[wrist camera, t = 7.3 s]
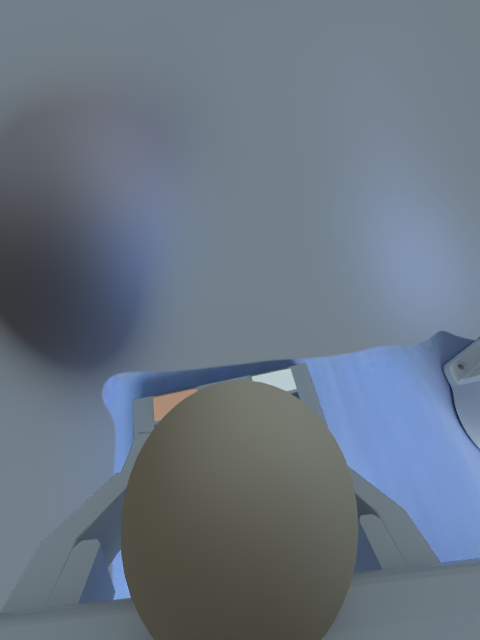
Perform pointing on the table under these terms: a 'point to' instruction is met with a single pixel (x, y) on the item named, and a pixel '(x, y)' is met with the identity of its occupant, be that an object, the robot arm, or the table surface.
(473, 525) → the table surface
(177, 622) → the peg
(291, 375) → the socket deck
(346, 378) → the table surface
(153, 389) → the table surface
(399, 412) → the table surface
